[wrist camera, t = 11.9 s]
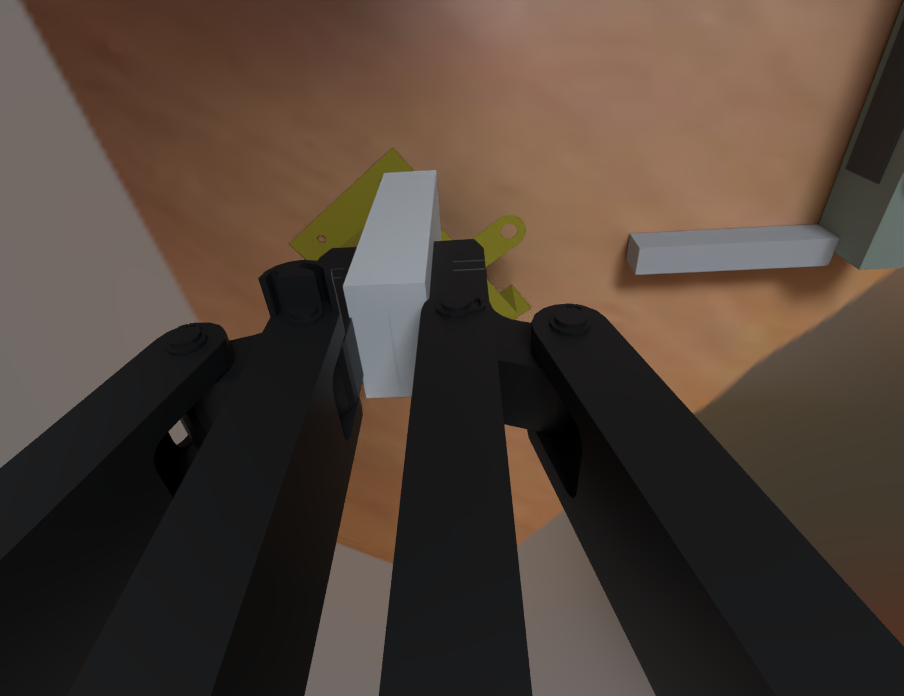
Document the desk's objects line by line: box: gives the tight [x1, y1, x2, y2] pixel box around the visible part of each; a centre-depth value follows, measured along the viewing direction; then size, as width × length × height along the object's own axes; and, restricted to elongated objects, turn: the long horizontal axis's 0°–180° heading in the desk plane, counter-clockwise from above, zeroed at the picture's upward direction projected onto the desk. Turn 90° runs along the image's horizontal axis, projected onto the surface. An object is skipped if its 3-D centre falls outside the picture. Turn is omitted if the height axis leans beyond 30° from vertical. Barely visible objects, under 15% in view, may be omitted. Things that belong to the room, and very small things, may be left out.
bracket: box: [290, 148, 531, 320], centre depth 34 cm, size 16×8×15 cm
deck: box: [626, 1, 904, 275], centre depth 28 cm, size 22×17×6 cm
